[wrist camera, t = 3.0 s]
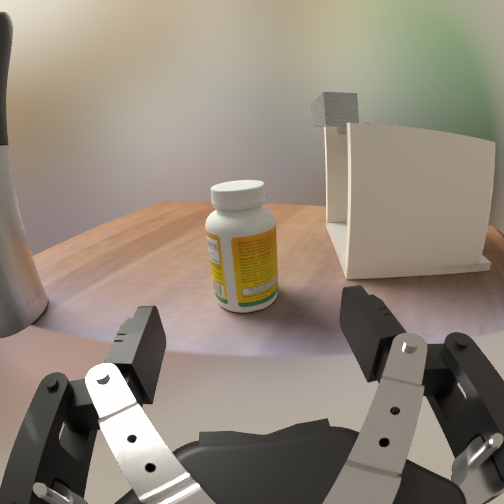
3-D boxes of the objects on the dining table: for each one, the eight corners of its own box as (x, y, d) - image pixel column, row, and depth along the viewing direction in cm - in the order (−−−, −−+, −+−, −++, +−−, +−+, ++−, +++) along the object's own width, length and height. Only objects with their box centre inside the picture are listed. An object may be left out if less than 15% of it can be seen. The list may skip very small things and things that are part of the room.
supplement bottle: (204, 308, 23) (185, 193, 19) (232, 278, 28) (221, 178, 24) (266, 320, 21) (257, 192, 17) (286, 285, 26) (282, 178, 22)
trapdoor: (327, 135, 22) (324, 91, 20) (312, 134, 33) (310, 104, 31) (473, 148, 20) (472, 110, 18) (423, 140, 31) (422, 112, 29)
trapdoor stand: (346, 279, 25) (349, 122, 20) (326, 226, 39) (324, 125, 33) (489, 270, 23) (507, 145, 18) (435, 225, 37) (441, 134, 31)
